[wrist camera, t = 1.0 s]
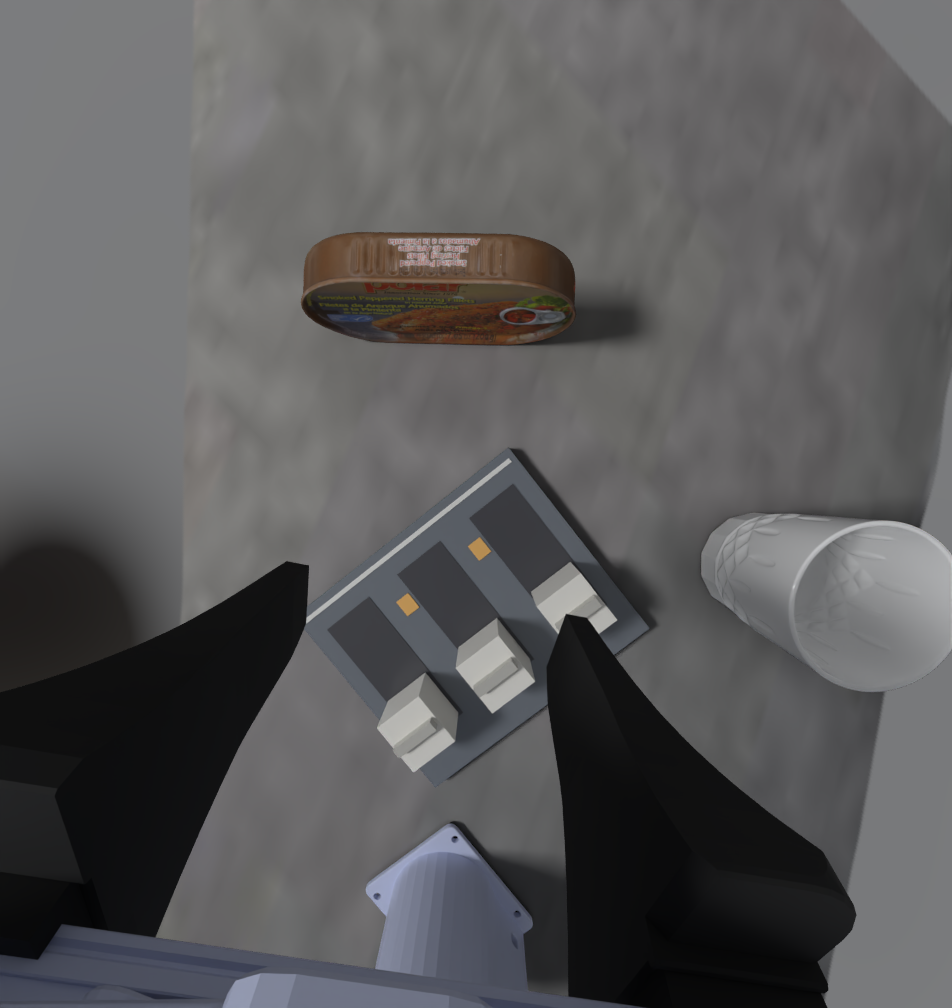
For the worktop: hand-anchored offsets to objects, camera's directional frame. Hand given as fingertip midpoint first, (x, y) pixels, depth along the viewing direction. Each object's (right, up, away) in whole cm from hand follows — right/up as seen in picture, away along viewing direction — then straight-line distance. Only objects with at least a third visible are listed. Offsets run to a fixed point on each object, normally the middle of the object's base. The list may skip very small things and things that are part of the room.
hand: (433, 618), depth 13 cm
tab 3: (+7, -3, +17) cm, 19 cm away
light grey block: (-2, -10, +18) cm, 21 cm away
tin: (-1, +15, +17) cm, 23 cm away
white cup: (+19, -1, +18) cm, 26 cm away
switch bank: (+1, -5, +18) cm, 19 cm away
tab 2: (+2, -7, +17) cm, 19 cm away
